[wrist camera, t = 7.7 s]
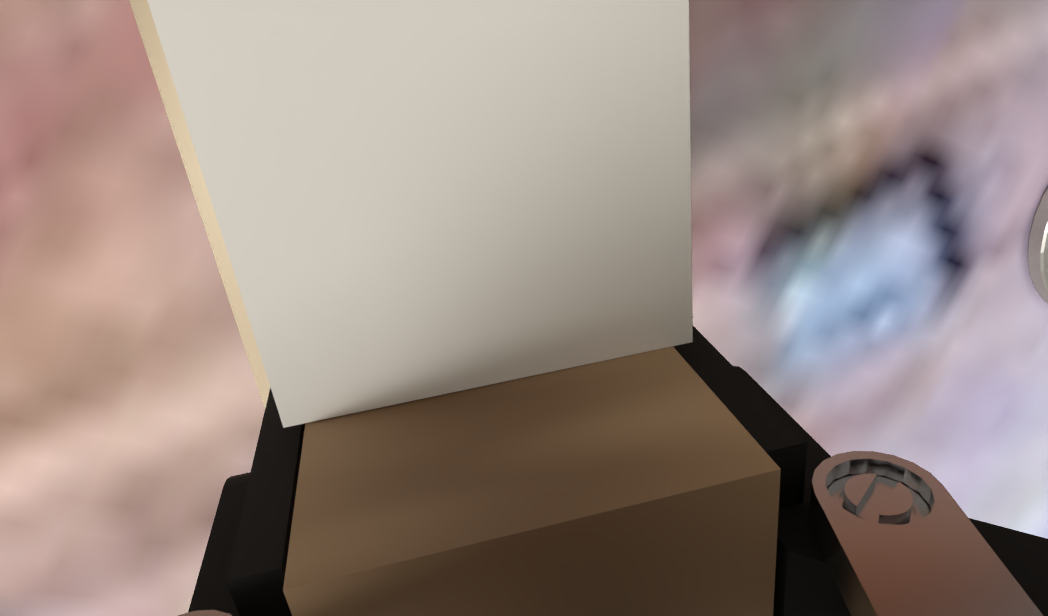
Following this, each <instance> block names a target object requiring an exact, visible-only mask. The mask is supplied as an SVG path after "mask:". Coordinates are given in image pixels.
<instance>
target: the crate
mask: <svg viewBox="0 0 1048 616" xmlns="http://www.w3.org/2000/svg"><path fill="white" fill-rule="evenodd" d="M147 1H148V4H149V8H150V11H151V14H152V17H153V20H154V23H155V26H156V29H157V33H158V36H159V39H160V42H161V45H162V48H163V51H164V55H165V58H166V61H167V64H168V67H169V70H170V73H171V77H172V80H173V83H174V86H175V89H176V92H177V95H178V99H179V102H180V105H181V108H182V111H183V114H184V117H185V120H186V124H187V127H188V130H189V133H190V136H191V139H192V142H193V146H194V149H195V152H196V155H197V158H198V161H199V164H200V168H201V171H202V174H203V177H204V180H205V183H206V186H207V190H208V193H209V196H210V199H211V202H212V205H213V208H214V212H215V215H216V218H217V221H218V224H219V227H220V230H221V233H222V237H223V240H224V243H225V246H226V249H227V252H228V255H229V259H230V262H231V265H232V268H233V271H234V274H235V277H236V281H237V284H238V287H239V290H240V293H241V296H242V299H243V303H244V306H245V309H246V312H247V315H248V318H249V321H250V324H251V328H252V331H253V334H254V337H255V340H256V343H257V346H258V350H259V353H260V356H261V359H262V362H263V365H264V368H265V372H266V375H267V378H268V381H269V384H270V387H271V390H272V394H273V397H274V400H275V403H276V406H277V409H278V412H279V415H280V419H281V422H282V425H283V428H285V427H290V426H295V425H299V424H304V423H309V422H314V421H319V420H323V419H328V418H333V417H338V416H342V415H347V414H352V413H357V412H361V411H366V410H371V409H376V408H381V407H385V406H390V405H395V404H400V403H404V402H409V401H414V400H419V399H424V398H428V397H433V396H438V395H443V394H447V393H452V392H457V391H462V390H466V389H471V388H476V387H481V386H486V385H490V384H495V383H500V382H505V381H509V380H514V379H519V378H524V377H529V376H533V375H538V374H543V373H548V372H552V371H557V370H562V369H567V368H572V367H576V366H581V365H586V364H591V363H595V362H600V361H605V360H610V359H614V358H619V357H624V356H629V355H634V354H638V353H643V352H648V351H653V350H657V349H662V348H667V347H672V346H677V345H681V344H686V343H691V342H693V325H692V237H691V149H690V62H689V0H147Z"/></svg>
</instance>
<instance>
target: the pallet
mask: <svg viewBox="0 0 1048 616" xmlns="http://www.w3.org/2000/svg"><path fill="white" fill-rule="evenodd" d="M129 1H130V4H131V7H132V10H133V13H134V16H135V19H136V22H137V25H138V28H139V31H140V34H141V37H142V40H143V43H144V46H145V49H146V52H147V55H148V58H149V61H150V64H151V67H152V70H153V73H154V76H155V79H156V82H157V85H158V88H159V91H160V94H161V97H162V100H163V103H164V106H165V109H166V112H167V115H168V118H169V121H170V124H171V127H172V130H173V133H174V136H175V139H176V142H177V145H178V148H179V151H180V154H181V157H182V160H183V163H184V166H185V169H186V173H187V176H188V179H189V182H190V185H191V188H192V191H193V194H194V197H195V200H196V203H197V206H198V209H199V212H200V215H201V218H202V221H203V224H204V227H205V230H206V233H207V236H208V239H209V242H210V245H211V248H212V251H213V254H214V257H215V260H216V263H217V266H218V269H219V272H220V275H221V278H222V281H223V284H224V287H225V290H226V293H227V296H228V299H229V302H230V305H231V308H232V311H233V314H234V317H235V320H236V323H237V326H238V329H239V332H240V335H241V338H242V341H243V344H244V347H245V350H246V353H247V356H248V359H249V362H250V365H251V368H252V371H253V374H254V377H255V380H256V383H257V386H258V389H259V392H260V395H261V398H262V401H263V404H264V407H265V409H266V404H267V400H268V396H269V391H270V384H269V381H268V378H267V375H266V372H265V368H264V365H263V362H262V359H261V356H260V353H259V350H258V346H257V343H256V340H255V337H254V334H253V331H252V328H251V324H250V321H249V318H248V315H247V312H246V309H245V306H244V303H243V299H242V296H241V293H240V290H239V287H238V284H237V281H236V277H235V274H234V271H233V268H232V265H231V262H230V259H229V255H228V252H227V249H226V246H225V243H224V240H223V237H222V233H221V230H220V227H219V224H218V221H217V218H216V215H215V212H214V208H213V205H212V202H211V199H210V196H209V193H208V190H207V186H206V183H205V180H204V177H203V174H202V171H201V168H200V164H199V161H198V158H197V155H196V152H195V149H194V146H193V142H192V139H191V136H190V133H189V130H188V127H187V124H186V120H185V117H184V114H183V111H182V108H181V105H180V102H179V99H178V95H177V92H176V89H175V86H174V83H173V80H172V77H171V73H170V70H169V67H168V64H167V61H166V58H165V55H164V51H163V48H162V45H161V42H160V39H159V36H158V33H157V29H156V26H155V23H154V20H153V17H152V14H151V11H150V8H149V4H148V1H147V0H129ZM780 473H781V469H780V468H779V467H778V465H777V464H776V463H775V462H774V461H773V460H772V459H771V457H770V456H769V455H768V454H767V453H766V452H765V451H764V449H763V448H762V447H761V446H760V445H759V444H758V443H757V441H756V440H755V439H754V438H753V437H752V436H751V435H750V434H749V432H748V431H747V430H746V429H745V428H744V427H743V426H742V424H741V423H740V422H739V421H738V420H737V419H736V418H735V416H734V415H733V414H732V413H731V412H730V411H729V410H728V408H727V407H726V406H725V405H724V404H723V403H722V402H721V401H720V399H719V398H718V397H717V396H716V395H715V394H714V393H713V391H712V390H711V389H710V388H709V387H708V386H707V385H706V383H705V382H704V381H703V380H702V379H701V378H700V377H699V375H698V374H697V373H696V372H695V371H694V370H693V369H692V368H691V366H690V365H689V364H688V363H687V362H686V361H685V360H684V358H683V357H682V356H681V355H680V354H679V353H678V352H677V350H676V349H675V348H674V347H673V346H672V347H667V348H662V349H657V350H653V351H648V352H643V353H638V354H634V355H629V356H624V357H619V358H614V359H610V360H605V361H600V362H595V363H591V364H586V365H581V366H576V367H572V368H567V369H562V370H557V371H552V372H548V373H543V374H538V375H533V376H529V377H524V378H519V379H514V380H509V381H505V382H500V383H495V384H490V385H486V386H481V387H476V388H471V389H466V390H462V391H457V392H452V393H447V394H443V395H438V396H433V397H428V398H424V399H419V400H414V401H409V402H404V403H400V404H395V405H390V406H385V407H381V408H376V409H371V410H366V411H361V412H357V413H352V414H347V415H342V416H338V417H333V418H328V419H323V420H319V421H314V422H309V423H305V430H304V438H303V445H302V452H301V460H300V467H299V475H298V482H297V489H296V497H295V504H294V512H293V519H292V527H291V534H290V541H289V549H288V556H287V564H286V571H285V578H284V586H283V592H284V595H285V597H286V600H287V603H288V606H289V608H290V611H291V614H292V616H773V608H774V589H775V569H776V550H777V531H778V511H779V492H780Z"/></svg>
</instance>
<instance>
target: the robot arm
mask: <svg viewBox="0 0 1048 616" xmlns="http://www.w3.org/2000/svg"><path fill="white" fill-rule="evenodd" d="M1028 264H1029V273H1030V276H1031V279H1032V282H1033V284H1034V287H1035V289H1036V291H1037V292H1038V293H1039V295H1040V296H1041V297H1042V299H1043V300H1044V301H1045V302H1047V303H1048V188H1047V190H1046V192H1045V193H1044V195H1043V197H1042V200H1041V202H1040V204H1039V207H1038V209H1037V212H1036V214H1035V216H1034V220H1033V224H1032V228H1031V232H1030V236H1029V246H1028ZM673 347H674V348H675V349H676V350H677V352H678V353H679V354H680V355H681V356H682V357H683V358H684V360H685V361H686V362H687V363H688V364H689V365H690V366H691V368H692V369H693V370H694V371H695V372H696V373H697V374H698V375H699V377H700V378H701V379H702V380H703V381H704V382H705V383H706V385H707V386H708V387H709V388H710V389H711V390H712V391H713V393H714V394H715V395H716V396H717V397H718V398H719V399H720V401H721V402H722V403H723V404H724V405H725V406H726V407H727V408H728V410H729V411H730V412H731V413H732V414H733V415H734V416H735V418H736V419H737V420H738V421H739V422H740V423H741V424H742V426H743V427H744V428H745V429H746V430H747V431H748V432H749V434H750V435H751V436H752V437H753V438H754V439H755V440H756V441H757V443H758V444H759V445H760V446H761V447H762V448H763V449H764V451H765V452H766V453H767V454H768V455H769V456H770V457H771V459H772V460H773V461H774V462H775V463H776V464H777V465H778V467H779V468H780V469H781V473H780V492H779V511H778V531H777V550H776V569H775V589H774V608H773V616H1048V539H1046V538H1042V537H1038V536H1035V535H1031V534H1027V533H1023V532H1019V531H1016V530H1012V529H1008V528H1004V527H1001V526H997V525H993V524H989V523H986V522H982V521H978V520H974V519H970V518H968V517H967V516H966V514H965V513H964V512H963V511H962V509H961V508H960V507H959V505H958V504H957V503H956V501H955V500H954V499H953V498H952V496H951V495H950V494H949V492H948V491H947V490H946V488H945V487H944V486H943V485H942V484H941V483H940V482H939V481H938V480H937V479H936V478H935V477H934V476H933V475H932V474H931V473H930V472H928V471H926V470H925V469H923V468H921V467H920V466H918V465H916V464H915V463H913V462H910V461H908V460H905V459H902V458H899V457H897V456H894V455H889V454H884V453H879V452H874V451H852V452H846V453H841V454H836V455H834V456H832V457H831V456H830V455H829V454H828V453H827V452H826V451H825V450H824V449H823V448H822V447H821V446H820V445H819V444H818V443H817V442H816V441H815V440H814V439H813V438H812V437H811V436H810V435H809V434H808V433H807V432H806V431H805V430H804V429H803V428H802V427H801V426H800V425H799V424H798V423H797V422H796V421H795V420H794V419H793V418H792V417H791V416H790V415H789V414H788V413H787V412H786V411H785V410H784V409H783V408H782V407H781V406H780V405H779V404H778V403H777V402H776V401H775V400H774V399H773V398H772V397H771V396H770V395H769V394H768V393H767V392H766V391H765V390H764V389H763V388H762V387H761V386H760V385H759V384H758V383H757V382H756V381H755V380H754V379H753V378H752V377H751V376H750V375H749V374H748V373H747V372H746V371H744V370H743V369H741V368H740V367H736V366H732V365H731V364H730V363H729V362H728V361H727V360H726V359H725V358H724V357H723V356H722V355H721V354H720V353H719V352H718V351H717V350H716V349H715V348H714V347H713V346H712V345H711V344H710V343H709V342H708V341H707V339H706V338H705V337H704V336H703V335H702V334H701V333H700V332H699V331H698V330H697V329H696V328H695V327H694V326H693V342H691V343H686V344H681V345H677V346H673ZM304 430H305V423H304V424H299V425H295V426H290V427H285V428H283V425H282V422H281V419H280V415H279V412H278V409H277V406H276V403H275V400H274V397H273V394H272V390H271V387H270V391H269V396H268V400H267V404H266V409H265V413H264V417H263V421H262V426H261V430H260V434H259V439H258V443H257V447H256V452H255V456H254V460H253V465H252V469H251V472H250V473H245V474H241V475H236V476H232V477H230V478H228V479H227V480H226V482H225V484H224V487H223V490H222V494H221V497H220V501H219V504H218V508H217V512H216V515H215V519H214V522H213V526H212V529H211V533H210V537H209V540H208V544H207V547H206V551H205V554H204V558H203V562H202V565H201V569H200V572H199V576H198V579H197V583H196V587H195V590H194V594H193V597H192V601H191V604H190V608H189V612H188V613H185V614H182V615H179V616H292V614H291V611H290V608H289V606H288V603H287V600H286V597H285V595H284V592H283V586H284V578H285V571H286V564H287V556H288V549H289V541H290V534H291V527H292V519H293V512H294V504H295V497H296V489H297V482H298V475H299V467H300V460H301V452H302V445H303V438H304Z"/></svg>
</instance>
